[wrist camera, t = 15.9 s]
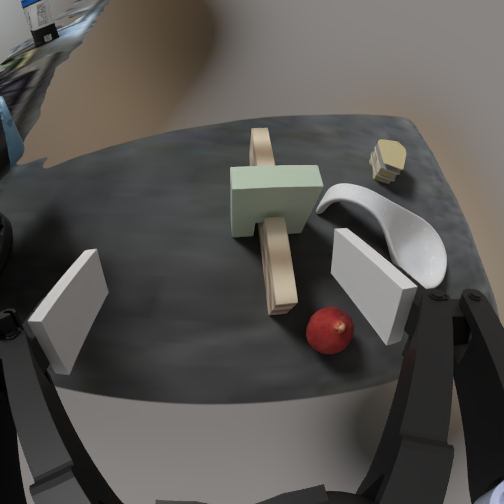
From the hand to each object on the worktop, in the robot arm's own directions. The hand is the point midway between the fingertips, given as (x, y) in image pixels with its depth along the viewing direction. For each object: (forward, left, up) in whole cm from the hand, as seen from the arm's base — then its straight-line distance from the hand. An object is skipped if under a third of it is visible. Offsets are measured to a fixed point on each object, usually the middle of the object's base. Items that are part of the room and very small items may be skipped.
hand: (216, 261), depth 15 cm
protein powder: (-121, +90, -23) cm, 152 cm away
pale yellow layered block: (+20, +33, -23) cm, 45 cm away
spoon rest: (+20, +18, -23) cm, 35 cm away
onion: (+12, +1, -23) cm, 26 cm away
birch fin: (+2, +15, -23) cm, 27 cm away
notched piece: (+2, +15, -23) cm, 27 cm away
